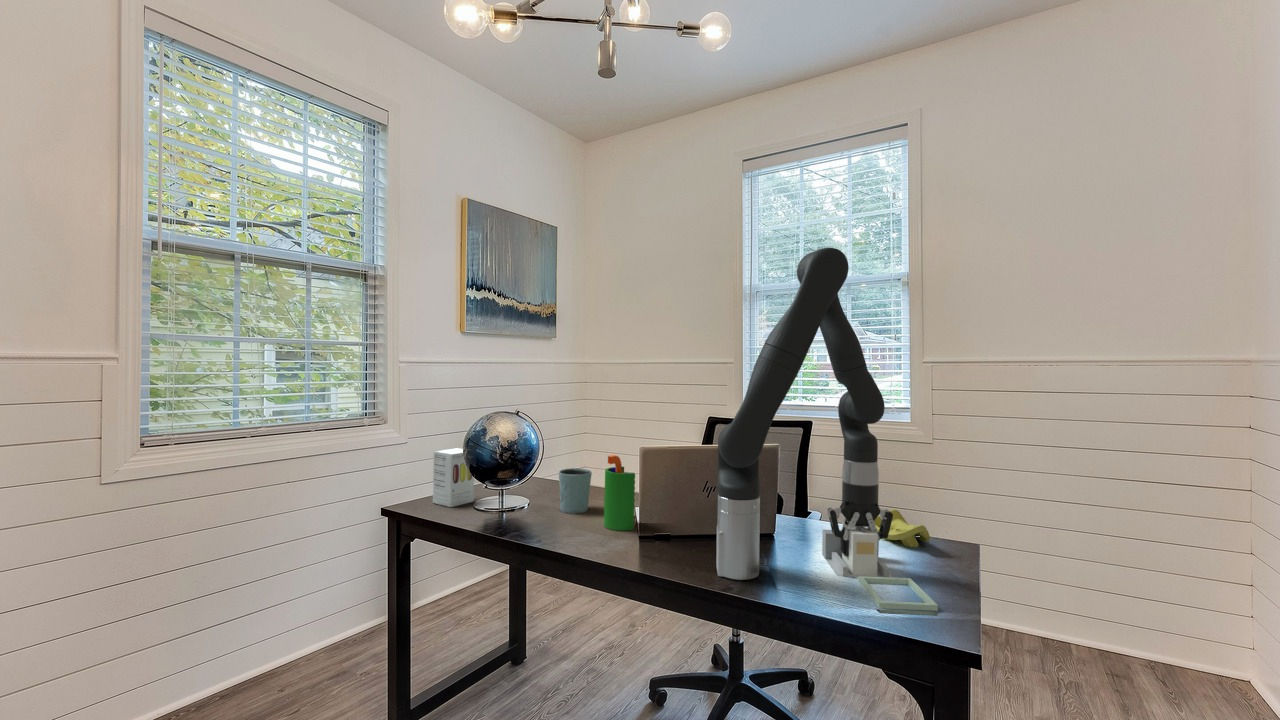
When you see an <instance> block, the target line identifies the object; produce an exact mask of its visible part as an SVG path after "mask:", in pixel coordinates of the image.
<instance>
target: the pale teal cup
mask: <svg viewBox="0 0 1280 720" xmlns="http://www.w3.org/2000/svg"><path fill="white" fill-rule="evenodd" d="M592 473H593V472H592V470H590V469H587V468H576V467H575V468H572V467H571V468H564V469H560V470H559V471H558V480H559V482H558V483H559V484H558V485H559V497H560V499H559V505H560V506H559V509H560V512H562V513H565V514H570V515H571V514H574V515H575V514H583V513H586V512H588V511H589V510H588V509H589V501H590V500H589V498H590V489H591V488H590V487H591V481H592Z"/></svg>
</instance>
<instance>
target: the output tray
mask: <svg viewBox="0 0 1280 720" xmlns="http://www.w3.org/2000/svg"><path fill="white" fill-rule="evenodd" d="M857 582H859V584H860V586H861V587H862V589H864V590H865V592H866V593H867V594H868V596H869V597H870V598H871V599H872V601H873V603H875V605H876V606H877V609H876V612H878V613H879V614H886V615H887V614H888V615H910V616H932V617H934V616H936V617H938V616H939V614H938V613H939V612H938V611H939V605H938V603H937V602H935V601H934V600H933V599H932V598H931V597H930V596H929V595H928V594H927V593H926V592H925V591H924V590H923V589H922V588H921V587H920V586H919V585H918V584H917V583H916V582H914V580H913V579H912V578H910V577H894V578H892V577H866V576H858V577H857ZM870 584H882V585H883V584H885V585H907V586H908V587H909V588H910V589H911V590H913V592H915V594H916V595H918V597H919V598H920V599H921V600H922V601H923V602H914V601H913V602H912V601H910V602H909V601H889V600H882V599H881V598H880V596H879V595H878V593H876V592H875V590H874V589H873V588H872V586H870ZM878 608H879V609H878Z"/></svg>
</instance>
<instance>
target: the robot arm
mask: <svg viewBox="0 0 1280 720" xmlns="http://www.w3.org/2000/svg"><path fill="white" fill-rule="evenodd" d="M849 266H850V265H849V262H848V258H847V256H846V255H845V253H844V252H843V251H842V250H840V249H838V248H836V247H835V248H834V247H823V248H819V249H816V250H814V251H812V252H809V253H807V254H805V255H804V256H803V257H802V258H801V259H800V260H799V262H798V264H797V267H796V276H797V280H798V282H799V287H798V290H797V292H796V295H795V297H794V299H793V301H792V303H791V305H790V306H789V308H788V309H787V310H786V312H785V313H784V314H783V315H782V316H781V318H780V319H779V321H778V322H777V323H776V324H775V326H774V327H773V329H772V330H771V331H770V333H769V335H768V337H767V338H766V340H765V341H764V343H763V346H762V348H761V350H760V352H759V355H758V356H757V357H756V358H757V359H756V362H755V364H754V366H753V368H752V372H751V375H750V378H749V380H748V381H749V383H748V385H747V390H746V393H745V396H744V399H743V401H742V403H741V405H740V407H739V409H738V410H737V413H736V414H735V416H734V418H733V419H732V421H731V423H728V424H726V426H724V427H723V428H722V430H720V433H719V435H718V438H717V524H716V564H715V565H716V572H717V577H724V578H728V579H731V580H738V581H743V580H744V581H745V580H752V579H755V578H757V577H759V575H760V517H761V516H760V514H761V511H760V509H761V508H760V507H761V504H760V503H761V483H760V471H759V470H760V469H759V467H760V463H759V461H760V456H761V454H762V452H763V449H764V446H765V443H766V440H767V439H766V438H767V436H768V434H769V430H770V428H771V425H772V423H773V421H774V418H775V415H776V413H777V412H778V411H779V409H780V406H781V405H782V403H783V402H784V400H785V398H786V396H787V395H788V393H789V391H790V389H791V387H792V385H793V384H794V382H795V380H796V378H797V376H798V374H799V372H800V370H801V368H802V366H803V364H804V361H805V359H806V357H807V355H808V352H809V351H810V348H811V346H812V344H813V341H814V340H815V337H816V335H817V333H818V331H819V329H820V333H821V335H822V337H823V341H824V344H825V348H826V350H827V355H828V357H829V361H830V364H831V367H832V372H833V375H834V377H835V379H836V381H837V382H838V383H840V384H841V385H843V386H844V387H845V388H846V390H847V391H846V392H844V393H843V394H842V395H841V397H840V399H839V403H838V406H837V407H838V408H837V409H838V410H837V411H838V412H837V413H838V420H839V424H840V430H841V433H842V436H843V442H844V443H843V464H842V473H841V482H842V484H841V489H842V490H841V491H842V492H841V504H840V506H839V507H837V508H832V507H829V508H827V515H828V519H829V524H830V525H829V526H830V530H832V533H833V534H834V535H835V536H836V537H839V538H840V550H841V552H842V553H843V554H844V556H845V557H849V540H848V538H849V531H853V529H854V526H855V527H858V526H864V527H867V528H869V529H870V530H871V531H874V532H875V533H876V534H877V535H878V553H879V547H880V546H879V542H880V540H884V539H887V538H888V535H889V531H890V526H891V522H892V518H893V514H892V513H891V512H890V511H891V510H889V509H882V508H880V506H879V486H880V485H879V481H880V480H879V477H880V476H879V474H880V473H879V464H878V455H879V454H878V452H879V451H878V439H877V437H876V436H875V435H874V434H872V433H871V432H870V429H869V425H870V424H871V425H872V424H876V423H878V422H880V421H881V419H882V418H883V417H884V413H885V410H886V408H885V401H884V397H883V395H882V393H881V391H880V389H879V387H878V384H877V383H876V381H875V379H874V378H873V376H872V375H871V373H870V371H869V369H868V366H867V362H866V359H865V356H864V351H863V349H862V346H861V343H860V340H859V338H858V336H857V333H856V332H855V330H854V328H853V326H852V325H851V322H850V321H849V319H848V318H847V316H846V313H845V312H844V309H843V307H842V305H841V300H840V298H839V292H840V290H841V288H842V287H843V286H844V283H845V282H846V280H847V278H848V274H849V270H850V269H849V268H850V267H849ZM840 514H842V516H843V517H844V521H843V522H842V523H843V527H842V526H841V529H840V526H839V522H838V519H840ZM879 515H880V518H881V519H882V520H881V524H880V529H879V532H877V528H876V526H875V523H874V520H875V519H876V518H877V517H878V516H879ZM840 530H841V531H840ZM883 538H884V539H883Z"/></svg>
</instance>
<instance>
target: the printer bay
mask: <svg viewBox="0 0 1280 720" xmlns="http://www.w3.org/2000/svg"><path fill="white" fill-rule="evenodd" d="M839 530H840V531H841V530H842V529H839ZM821 545H822V546H821V548H822V549H821V551H822V552H821V555H822V556H823V559H824V560H825V561H826V562H827V564H828V565H829V566H830V569H832V570H833V572H834V573H835V575H836V577H841V578H842V577H844V578H845V577H848V578H850V577H851V578H858V576H855V575H852V574H851V573H850V571H849V570H848V567H847V565H846V564H845V563H844V562H843V560H842V552H841V550H840V538H839V537H836V536H835V535H834V534H833V533H832V529H822V543H821ZM866 577H892V578H895V576H893V575H892V574H891V573H890V568H889V567H888V566H887V564H885V563H884V562H883V561H882V560H881V558H879V557H878V561H877V576H866Z"/></svg>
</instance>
